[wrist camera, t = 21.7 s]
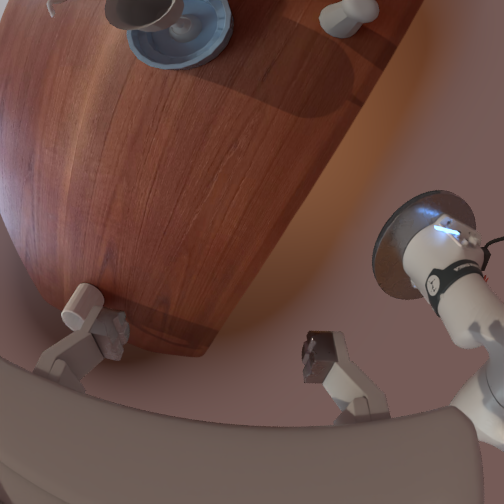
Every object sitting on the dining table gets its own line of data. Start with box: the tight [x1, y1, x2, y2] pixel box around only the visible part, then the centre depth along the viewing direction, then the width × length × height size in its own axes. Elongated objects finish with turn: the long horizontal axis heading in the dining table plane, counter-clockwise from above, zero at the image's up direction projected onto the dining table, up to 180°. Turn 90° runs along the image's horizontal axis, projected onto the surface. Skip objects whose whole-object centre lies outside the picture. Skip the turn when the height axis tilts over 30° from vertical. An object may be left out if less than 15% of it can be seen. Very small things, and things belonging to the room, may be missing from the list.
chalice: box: [105, 0, 202, 43], centre depth 22 cm, size 7×7×18 cm
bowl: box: [127, 0, 234, 70], centre depth 28 cm, size 14×14×6 cm
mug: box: [61, 283, 104, 331], centre depth 58 cm, size 8×12×10 cm
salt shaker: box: [319, 0, 379, 38], centre depth 24 cm, size 6×6×13 cm
